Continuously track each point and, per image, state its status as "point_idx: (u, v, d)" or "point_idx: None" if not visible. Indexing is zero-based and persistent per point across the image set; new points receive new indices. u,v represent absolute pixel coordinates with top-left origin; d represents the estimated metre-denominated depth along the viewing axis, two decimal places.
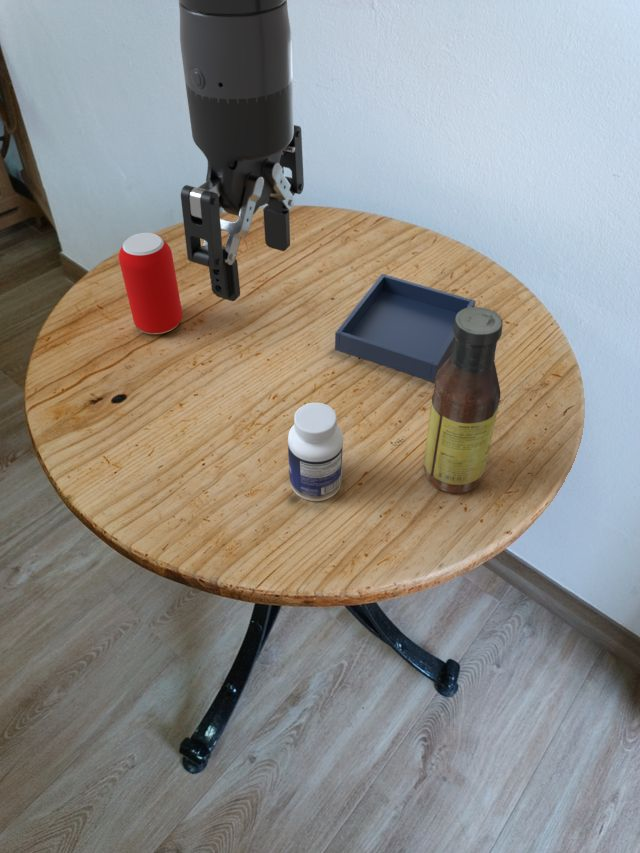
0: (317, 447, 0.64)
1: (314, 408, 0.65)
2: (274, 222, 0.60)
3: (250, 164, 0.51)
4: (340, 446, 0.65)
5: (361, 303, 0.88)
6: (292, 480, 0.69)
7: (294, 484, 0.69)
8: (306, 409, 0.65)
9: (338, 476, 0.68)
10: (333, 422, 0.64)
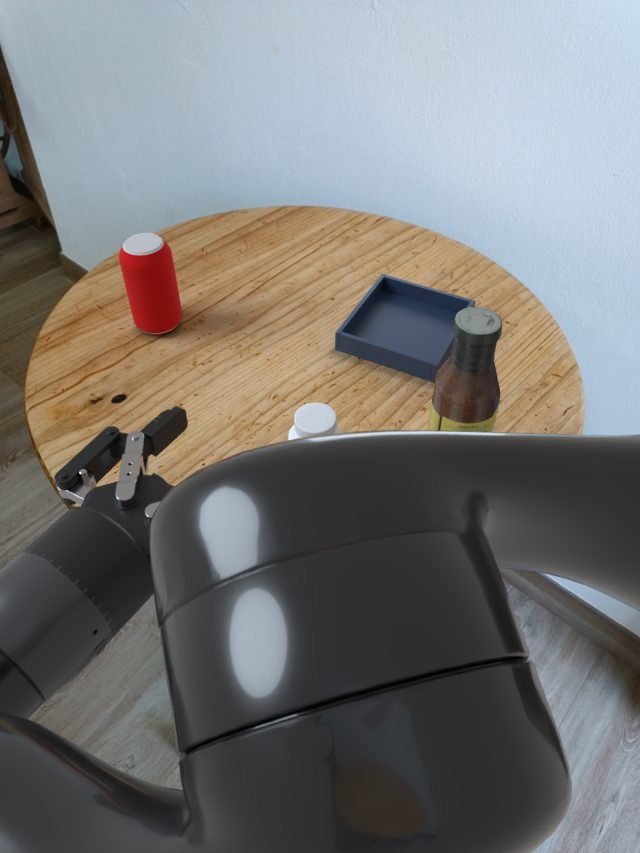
0: None
1: (314, 408, 0.65)
2: (163, 439, 0.51)
3: (139, 530, 0.44)
4: None
5: (361, 303, 0.88)
6: None
7: None
8: (306, 409, 0.65)
9: None
10: (333, 422, 0.64)
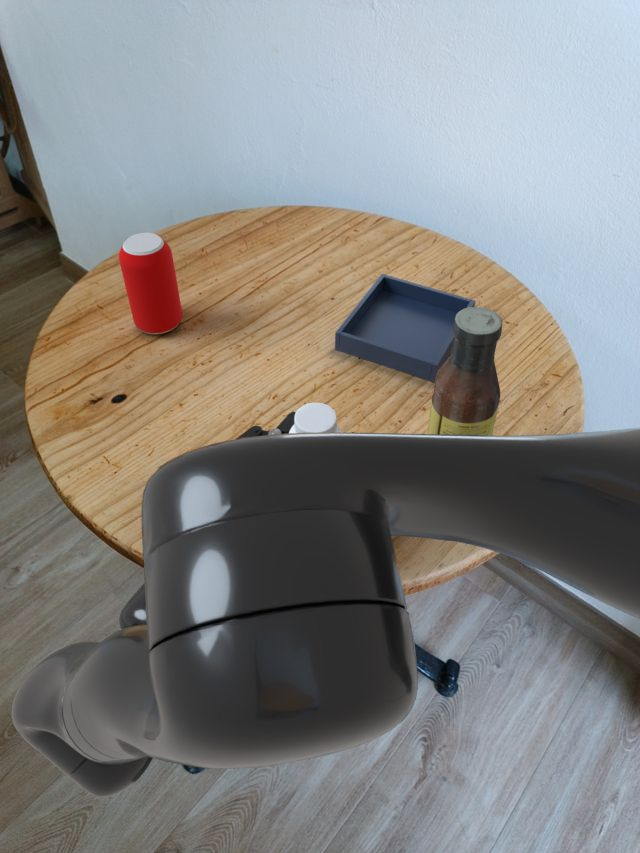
0: None
1: (314, 408, 0.65)
2: None
3: None
4: None
5: (361, 303, 0.88)
6: None
7: None
8: (306, 409, 0.65)
9: None
10: (334, 422, 0.64)
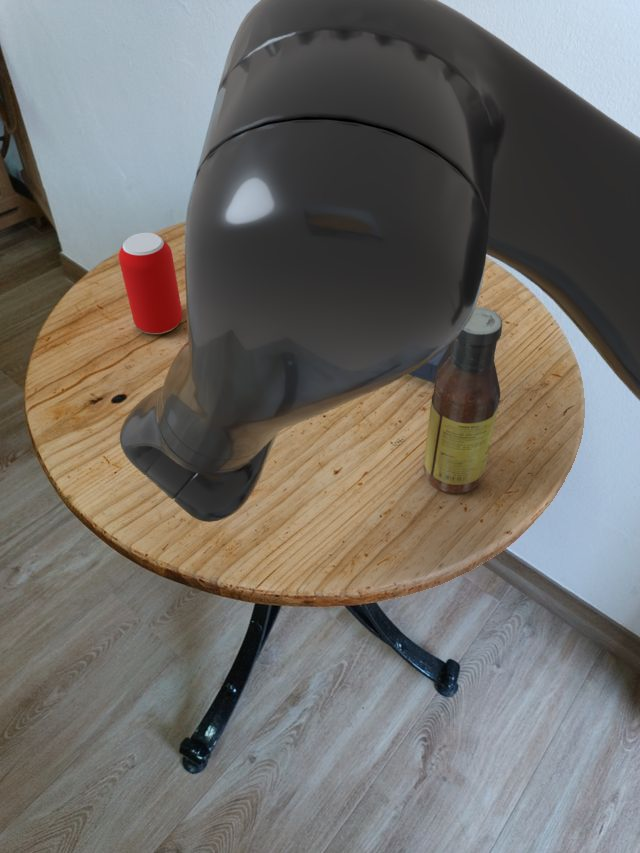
0: None
1: None
2: None
3: None
4: None
5: None
6: None
7: None
8: None
9: None
10: None
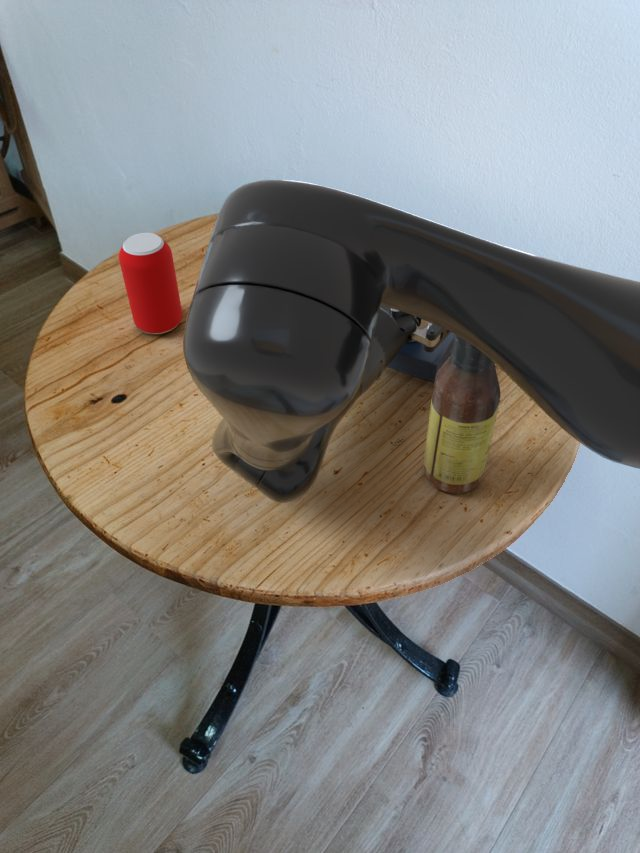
0: None
1: None
2: None
3: None
4: None
5: None
6: None
7: None
8: None
9: None
10: None
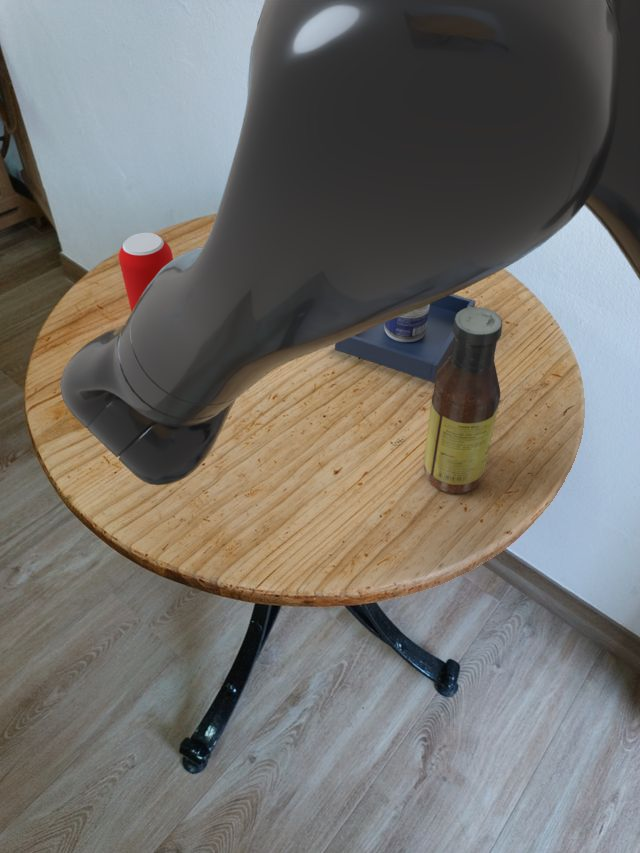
0: None
1: None
2: None
3: None
4: None
5: None
6: (388, 324, 0.85)
7: (390, 328, 0.85)
8: None
9: (426, 320, 0.85)
10: None
